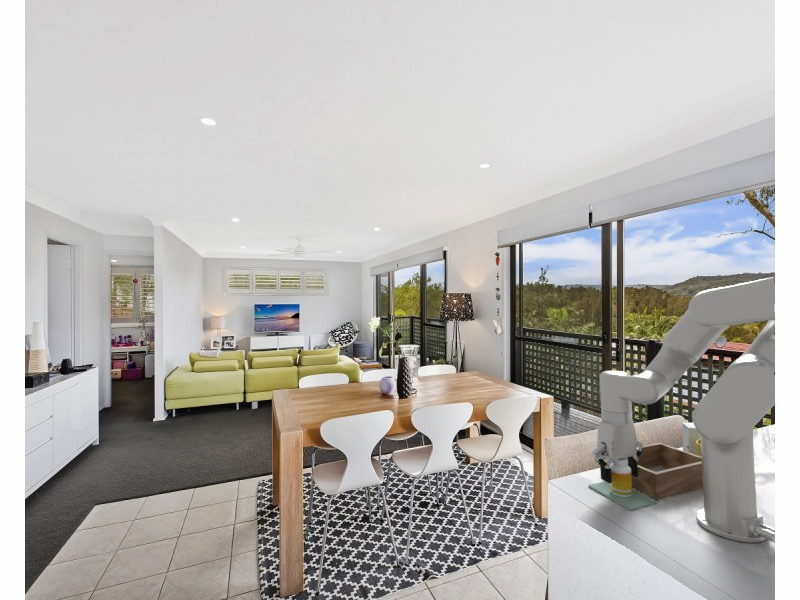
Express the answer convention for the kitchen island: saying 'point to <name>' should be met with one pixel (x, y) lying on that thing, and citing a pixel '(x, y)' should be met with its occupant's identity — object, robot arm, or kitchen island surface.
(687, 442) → the skincare box
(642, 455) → the box
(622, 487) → the supplement bottle
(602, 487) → the mat
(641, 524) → the kitchen island surface
